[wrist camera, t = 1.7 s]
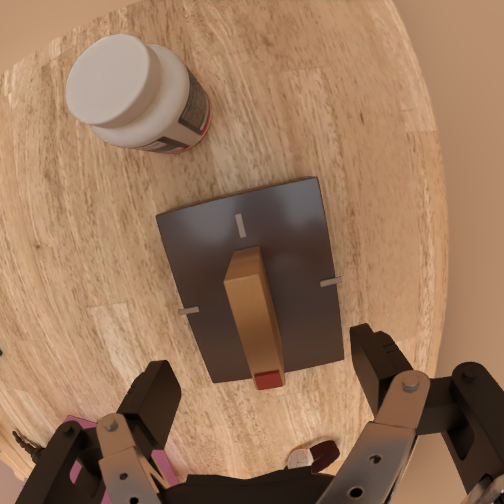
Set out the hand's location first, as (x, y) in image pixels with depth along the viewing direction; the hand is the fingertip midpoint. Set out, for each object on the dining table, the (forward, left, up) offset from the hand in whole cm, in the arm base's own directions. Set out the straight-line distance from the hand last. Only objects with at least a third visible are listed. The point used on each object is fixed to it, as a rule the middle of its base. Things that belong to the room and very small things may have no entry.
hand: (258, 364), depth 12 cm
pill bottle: (-13, -3, -10) cm, 16 cm away
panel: (0, 0, -9) cm, 9 cm away
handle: (0, 0, -7) cm, 7 cm away
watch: (+22, +1, -10) cm, 24 cm away
